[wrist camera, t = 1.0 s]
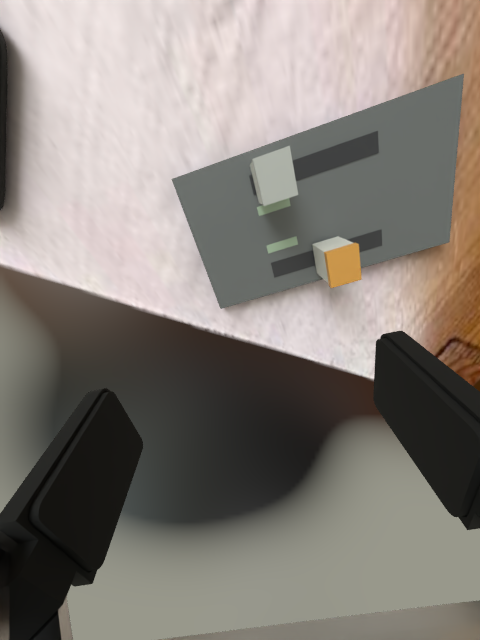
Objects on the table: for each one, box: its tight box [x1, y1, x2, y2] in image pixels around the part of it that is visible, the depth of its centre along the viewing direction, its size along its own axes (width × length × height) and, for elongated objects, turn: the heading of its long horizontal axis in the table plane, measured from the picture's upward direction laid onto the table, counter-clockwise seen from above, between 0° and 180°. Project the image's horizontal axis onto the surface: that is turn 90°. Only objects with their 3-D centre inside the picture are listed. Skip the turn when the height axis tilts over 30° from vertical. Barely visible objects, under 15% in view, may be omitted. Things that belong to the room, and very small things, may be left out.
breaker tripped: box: [312, 236, 361, 288], centre depth 23 cm, size 3×3×4 cm
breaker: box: [250, 146, 298, 206], centre depth 19 cm, size 3×3×4 cm
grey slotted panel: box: [172, 74, 464, 309], centre depth 24 cm, size 24×13×2 cm, turn 107°
